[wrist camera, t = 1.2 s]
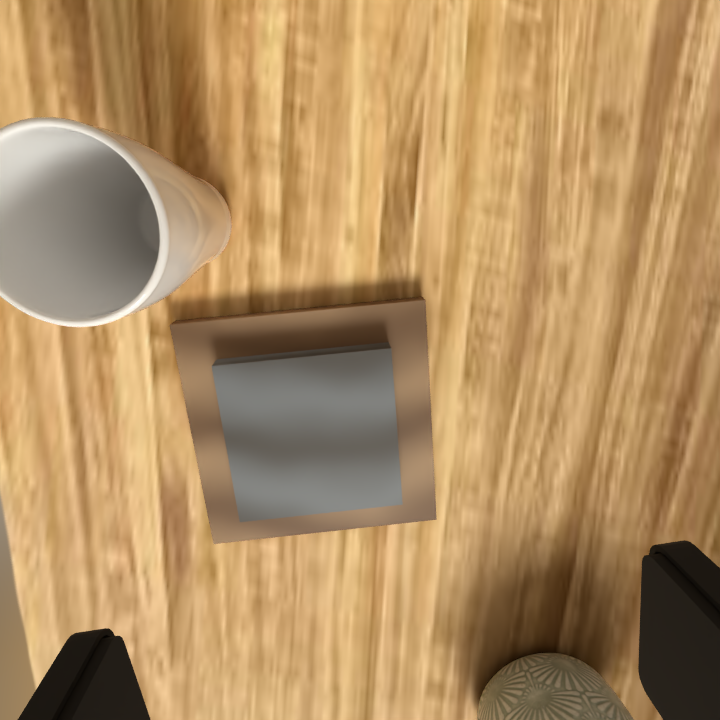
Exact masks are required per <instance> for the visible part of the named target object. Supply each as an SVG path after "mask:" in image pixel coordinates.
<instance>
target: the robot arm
mask: <svg viewBox="0 0 720 720" xmlns="http://www.w3.org/2000/svg"><path fill="white" fill-rule="evenodd" d="M639 676H640V680H641V683H642V685H643V688H644V690H645V692H646V694H647V695H648V697H649V698H650V700H651V701H652V703H653V704H654V706H655V708H656V709H657V711H658V712H659V714H660V715H661V717H662V718H663V720H720V568H719V567H718V566H717V565H716V564H715V563H713V562H712V561H711V560H710V559H709V558H708V557H707V556H706V555H705V554H704V553H702V552H701V551H700V550H699V549H698V548H697V547H696V546H695V545H693V544H692V543H691V542H688V541H678V542H672V543H665V544H659V545H654V546H652V547H651V549H650V553H649V555H646V556H644V557H643V560H642V580H641V610H640V639H639ZM18 720H150V717H149V714H148V711H147V708H146V705H145V702H144V699H143V696H142V693H141V690H140V687H139V684H138V682H137V679H136V676H135V673H134V670H133V667H132V664H131V661H130V658H129V655H128V652H127V649H126V646H125V643H124V641H123V639H122V637H120V636H114V634H113V632H112V631H111V630H110V629H99V630H93V631H86V632H80V633H75V634H73V635H71V636H70V637H69V639H68V640H67V641H66V643H65V644H64V646H63V648H62V649H61V651H60V652H59V654H58V656H57V657H56V659H55V660H54V662H53V664H52V665H51V667H50V669H49V670H48V672H47V673H46V675H45V677H44V678H43V680H42V681H41V683H40V685H39V686H38V688H37V689H36V691H35V693H34V694H33V696H32V698H31V699H30V701H29V702H28V704H27V706H26V707H25V709H24V711H23V712H22V714H21V715H20V717H19V719H18Z"/></svg>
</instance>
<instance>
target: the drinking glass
mask: <svg viewBox="0 0 720 720" xmlns="http://www.w3.org/2000/svg"><path fill="white" fill-rule="evenodd" d="M231 228H232V222H231V215H230V211H229V208H228V205H227V203H226V201H225V200H224V198H223V197H222V195H221V194H220V193H219V191H218V190H217V189H216V188H215V187H213V186H212V185H211V184H210V183H208V182H207V181H205V180H203V179H201V178H199V177H196V176H193V175H192V174H190V173H189V172H187V171H186V170H184V169H182V168H181V167H180V166H178V165H177V164H175V163H174V162H172V161H171V160H169V159H168V158H166V157H165V156H163V155H161V154H160V153H158V152H157V151H155V150H153V149H152V148H150V147H148V146H146V145H144V144H142V143H140V142H138V141H136V140H134V139H131V138H129V137H126V136H124V135H121V134H119V133H116V132H113V131H110V130H107V129H104V128H100V127H97V126H93V125H89V124H85V123H81V122H78V121H74V120H70V119H65V118H56V117H37V118H29V119H25V120H20V121H17V122H14V123H11V124H9V125H7V126H5V127H2V128H0V296H1V297H2V298H3V299H5V300H6V301H7V302H9V303H10V304H11V305H13V306H14V307H16V308H17V309H19V310H21V311H23V312H24V313H26V314H28V315H30V316H33V317H35V318H37V319H40V320H43V321H46V322H49V323H53V324H57V325H63V326H70V327H90V326H97V325H102V324H107V323H110V322H113V321H116V320H118V319H120V318H123V317H126V316H129V315H132V314H134V313H137V312H139V311H141V310H143V309H146V308H148V307H150V306H152V305H154V304H155V303H157V302H159V301H161V300H162V299H164V298H166V297H167V296H169V295H170V294H171V293H173V292H174V291H175V290H177V289H178V288H179V287H180V286H182V285H183V284H184V283H185V282H186V281H187V280H188V279H189V278H191V277H192V276H193V275H194V274H195V273H196V272H197V271H198V270H200V269H201V268H202V267H203V266H204V265H205V264H207V263H209V262H211V261H213V260H214V259H216V258H217V257H218V256H219V255H220V254H221V253H222V252H223V250H224V249H225V247H226V246H227V244H228V241H229V238H230V235H231Z"/></svg>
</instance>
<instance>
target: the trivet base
mask: <svg viewBox="0 0 720 720" xmlns="http://www.w3.org/2000/svg"><path fill="white" fill-rule="evenodd" d="M170 329H171V334H172V339H173V344H174V349H175V354H176V359H177V364H178V369H179V374H180V379H181V384H182V389H183V393H184V398H185V403H186V408H187V413H188V418H189V423H190V428H191V433H192V438H193V443H194V448H195V453H196V458H197V463H198V468H199V473H200V478H201V483H202V488H203V493H204V498H205V503H206V508H207V513H208V518H209V523H210V528H211V533H212V538H213V543H214V544H218V543H227V542H236V541H246V540H255V539H264V538H273V537H282V536H291V535H300V534H309V533H318V532H327V531H337V530H346V529H355V528H364V527H373V526H382V525H391V524H400V523H409V522H418V521H428V520H436V501H435V482H434V462H433V443H432V423H431V403H430V384H429V364H428V345H427V325H426V305H425V299H424V298H423V297H416V298H406V299H396V300H385V301H375V302H365V303H354V304H344V305H334V306H323V307H313V308H303V309H292V310H282V311H272V312H261V313H251V314H241V315H231V316H220V317H210V318H200V319H189V320H179V321H175V322H173V323H172V324H170Z"/></svg>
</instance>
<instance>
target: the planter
mask: <svg viewBox="0 0 720 720" xmlns="http://www.w3.org/2000/svg"><path fill="white" fill-rule="evenodd" d="M477 720H634V719H633V718H632V716H631V715H630V713H629V712H628V710H627V709H626V707H625V706H624V704H623V703H622V702H621V700H620V699H619V697H618V696H617V695H616V693H615V692H614V691H613V689H612V688H611V687H610V686H609V684H608V683H607V682H606V681H605V680H604V679H603V678H602V676H601V675H600V674H599V673H598V672H596V671H595V670H594V669H593V668H592V667H590V666H589V665H588V664H586V663H585V662H583V661H581V660H579V659H576V658H574V657H571V656H568V655H564V654H559V653H538V654H532V655H528V656H525V657H522V658H519V659H517V660H515V661H513V662H511V663H509V664H508V665H506V666H505V667H503V668H502V669H501V670H499V671H498V672H497V673H496V674H495V675H494V676H493V677H492V678H491V680H490V681H489V682H488V684H487V685H486V687H485V689H484V690H483V693H482V695H481V697H480V701H479V705H478V712H477Z"/></svg>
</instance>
